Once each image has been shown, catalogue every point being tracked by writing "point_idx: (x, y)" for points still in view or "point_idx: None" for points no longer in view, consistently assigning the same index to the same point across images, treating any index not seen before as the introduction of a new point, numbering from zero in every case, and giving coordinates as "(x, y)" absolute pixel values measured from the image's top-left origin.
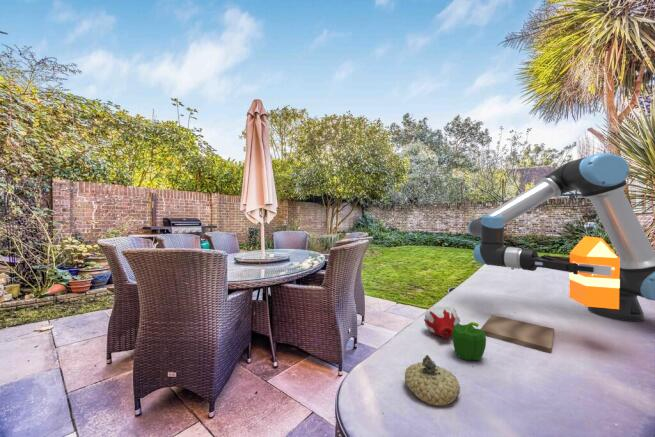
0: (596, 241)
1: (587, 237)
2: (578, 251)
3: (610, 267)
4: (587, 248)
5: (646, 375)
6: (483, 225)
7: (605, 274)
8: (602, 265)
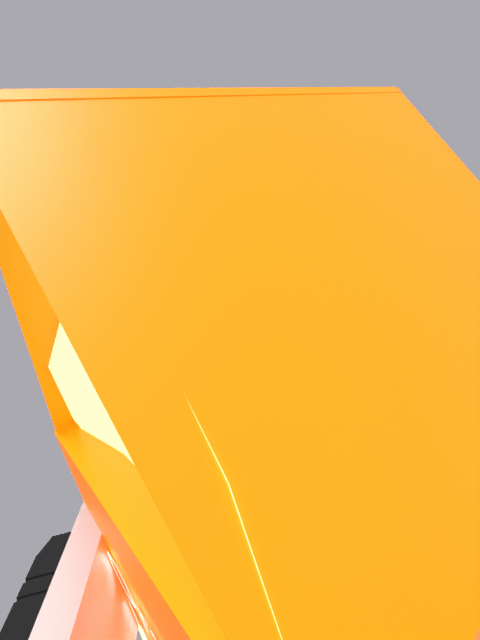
0: (402, 133)
1: (121, 110)
2: (460, 417)
3: None
4: (471, 254)
5: None
6: None
7: None
8: None
